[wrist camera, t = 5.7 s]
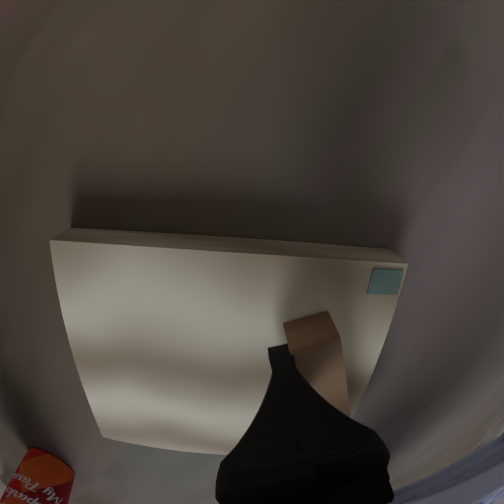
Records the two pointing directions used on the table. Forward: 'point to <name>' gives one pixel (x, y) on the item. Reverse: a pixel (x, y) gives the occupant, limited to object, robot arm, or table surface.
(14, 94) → the table surface
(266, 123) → the table surface
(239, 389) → the cream flat block
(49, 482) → the coffee cup
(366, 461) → the robot arm
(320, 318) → the folding leg
